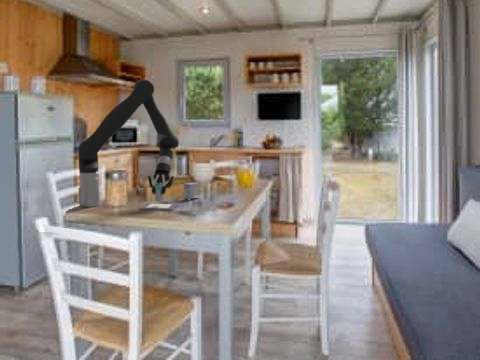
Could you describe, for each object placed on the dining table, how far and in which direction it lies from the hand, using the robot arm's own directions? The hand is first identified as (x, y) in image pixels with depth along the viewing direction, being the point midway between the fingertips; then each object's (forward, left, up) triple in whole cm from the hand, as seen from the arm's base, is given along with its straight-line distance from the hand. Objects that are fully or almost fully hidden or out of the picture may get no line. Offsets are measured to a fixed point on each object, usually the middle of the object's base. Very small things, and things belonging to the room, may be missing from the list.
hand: (158, 193), depth 228 cm
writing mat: (0, +2, -7) cm, 8 cm away
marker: (0, +2, -4) cm, 5 cm away
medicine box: (+11, +27, -8) cm, 30 cm away
